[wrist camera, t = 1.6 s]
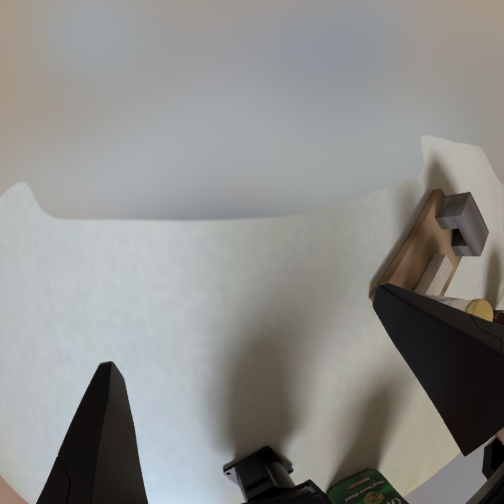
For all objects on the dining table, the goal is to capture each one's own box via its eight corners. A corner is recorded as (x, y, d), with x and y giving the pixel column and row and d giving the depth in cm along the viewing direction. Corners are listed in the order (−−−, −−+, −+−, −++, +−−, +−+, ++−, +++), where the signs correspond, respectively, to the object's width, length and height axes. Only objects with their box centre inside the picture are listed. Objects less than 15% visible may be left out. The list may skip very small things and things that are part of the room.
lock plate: (407, 343, 32) (440, 354, 26) (368, 297, 30) (405, 305, 24) (461, 240, 35) (491, 239, 29) (433, 190, 33) (465, 183, 27)
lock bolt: (411, 326, 29) (486, 347, 18) (398, 309, 29) (479, 327, 18) (443, 269, 31) (514, 273, 20) (432, 250, 30) (507, 250, 19)
